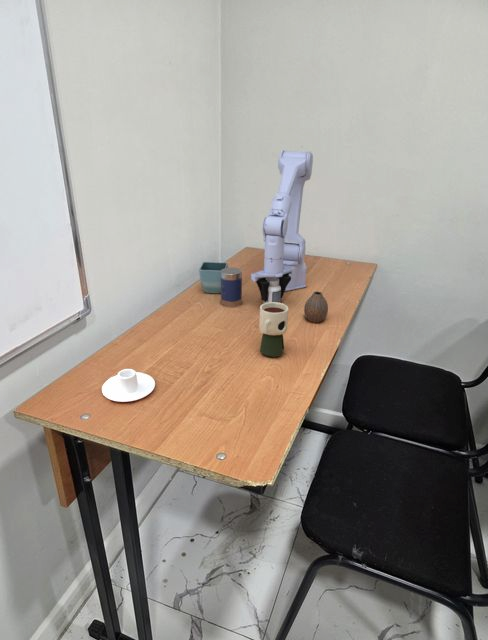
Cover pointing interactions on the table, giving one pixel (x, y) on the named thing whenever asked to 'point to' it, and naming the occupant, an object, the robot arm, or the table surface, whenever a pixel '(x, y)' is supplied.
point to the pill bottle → (273, 290)
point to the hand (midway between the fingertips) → (271, 298)
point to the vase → (316, 308)
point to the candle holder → (128, 386)
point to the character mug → (273, 328)
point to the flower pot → (211, 276)
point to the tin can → (231, 287)
